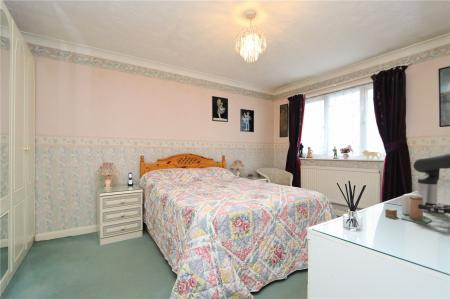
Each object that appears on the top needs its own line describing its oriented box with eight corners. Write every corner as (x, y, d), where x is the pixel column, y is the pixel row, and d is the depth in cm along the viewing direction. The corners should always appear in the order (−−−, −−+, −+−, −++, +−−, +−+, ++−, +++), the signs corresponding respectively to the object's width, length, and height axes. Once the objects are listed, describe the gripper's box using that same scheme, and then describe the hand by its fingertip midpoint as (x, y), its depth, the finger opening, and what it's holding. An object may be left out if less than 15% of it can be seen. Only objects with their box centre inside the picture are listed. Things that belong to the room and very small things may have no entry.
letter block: (388, 215, 129) (388, 208, 129) (396, 217, 125) (396, 209, 125) (385, 216, 127) (385, 209, 127) (393, 218, 123) (393, 210, 124)
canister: (412, 216, 123) (411, 195, 123) (424, 219, 118) (424, 197, 118) (407, 218, 120) (407, 196, 121) (420, 221, 116) (420, 198, 116)
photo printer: (418, 213, 132) (418, 193, 132) (424, 215, 128) (424, 194, 128) (400, 213, 133) (400, 192, 133) (405, 215, 129) (405, 194, 129)
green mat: (408, 216, 126) (408, 215, 126) (431, 221, 118) (431, 220, 118) (400, 219, 121) (400, 218, 121) (423, 224, 113) (423, 223, 113)
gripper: (470, 203, 107) (427, 197, 121) (460, 206, 100) (416, 199, 114) (470, 218, 106) (427, 210, 121) (460, 223, 100) (416, 214, 114)
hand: (422, 205), depth 117 cm, fingers open, 8 cm apart
